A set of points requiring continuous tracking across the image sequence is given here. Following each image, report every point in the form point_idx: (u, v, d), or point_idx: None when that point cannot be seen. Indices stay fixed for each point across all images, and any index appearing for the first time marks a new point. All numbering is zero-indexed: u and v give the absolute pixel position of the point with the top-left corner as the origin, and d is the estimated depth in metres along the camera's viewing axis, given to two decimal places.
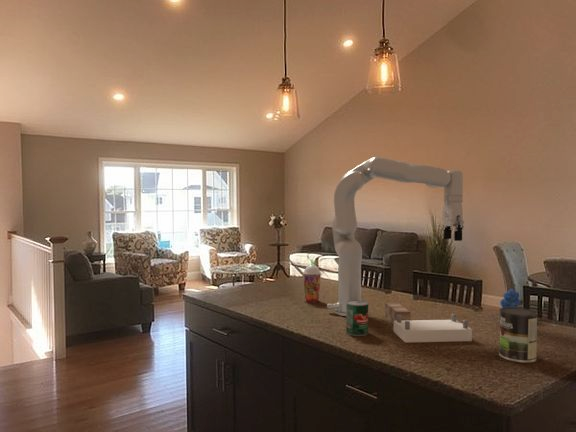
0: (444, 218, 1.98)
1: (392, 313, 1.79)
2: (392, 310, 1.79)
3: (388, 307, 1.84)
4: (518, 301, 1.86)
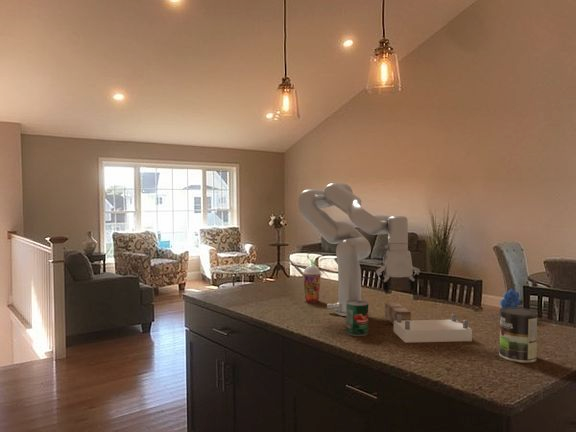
0: (394, 269, 1.77)
1: (392, 313, 1.79)
2: (392, 310, 1.79)
3: (388, 307, 1.84)
4: (518, 301, 1.86)
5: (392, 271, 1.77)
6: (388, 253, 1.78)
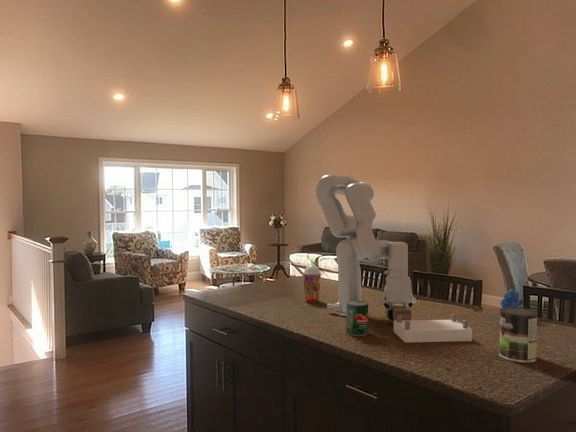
0: (394, 295, 1.77)
1: None
2: (393, 310, 1.78)
3: None
4: (518, 301, 1.86)
5: (392, 297, 1.77)
6: (388, 279, 1.78)
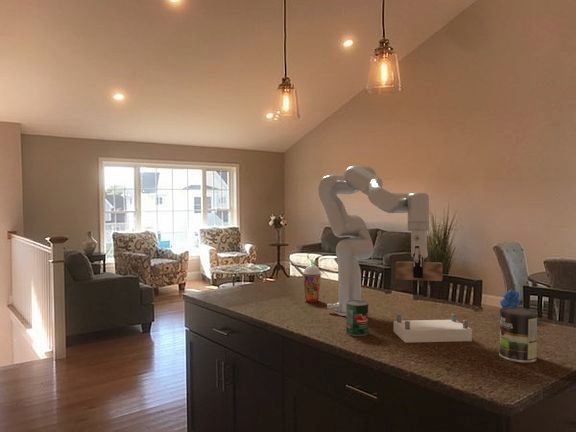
0: (425, 249, 1.65)
1: None
2: (423, 265, 1.65)
3: (408, 265, 1.67)
4: (518, 301, 1.86)
5: (425, 252, 1.64)
6: (422, 233, 1.63)
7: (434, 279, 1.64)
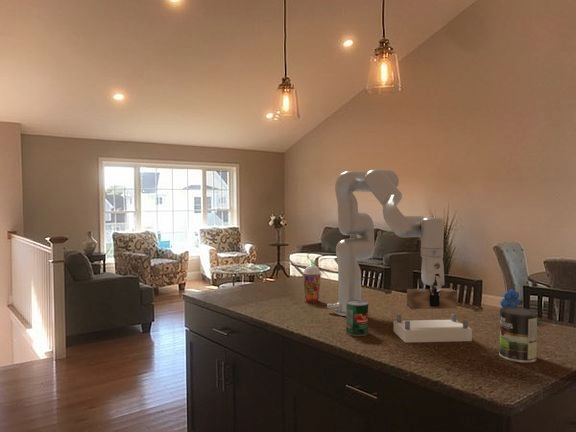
0: None
1: None
2: None
3: (424, 294, 1.58)
4: (518, 301, 1.86)
5: None
6: (441, 260, 1.56)
7: (449, 307, 1.59)
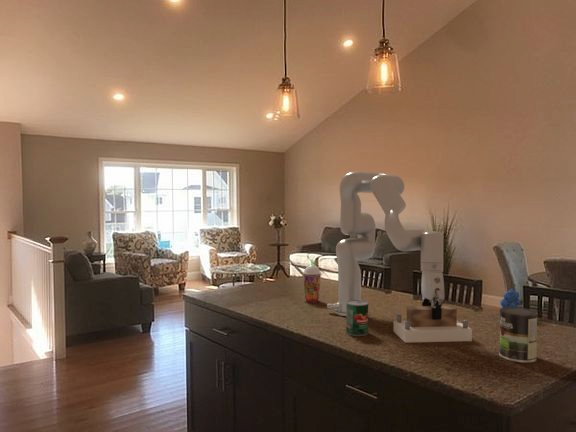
0: None
1: None
2: None
3: (423, 312, 1.58)
4: (518, 301, 1.86)
5: None
6: (441, 274, 1.56)
7: (449, 325, 1.59)
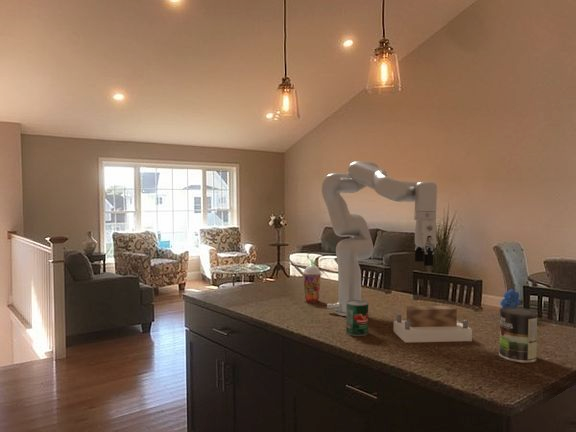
0: None
1: (438, 314, 1.59)
2: (439, 311, 1.59)
3: (423, 312, 1.58)
4: (518, 301, 1.86)
5: None
6: (434, 222, 1.62)
7: (449, 325, 1.59)
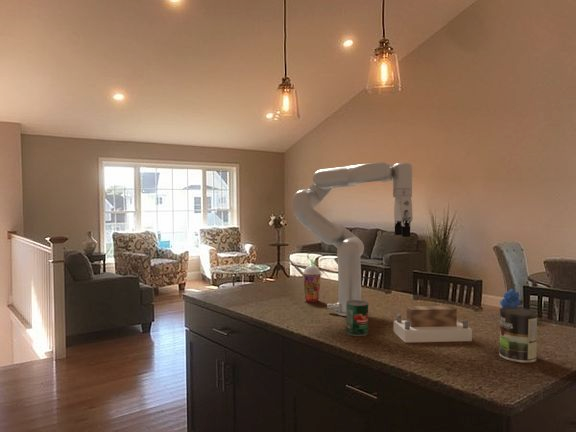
0: None
1: (438, 314, 1.59)
2: (439, 311, 1.59)
3: (423, 312, 1.58)
4: (518, 301, 1.86)
5: None
6: (410, 198, 1.82)
7: (449, 325, 1.59)
